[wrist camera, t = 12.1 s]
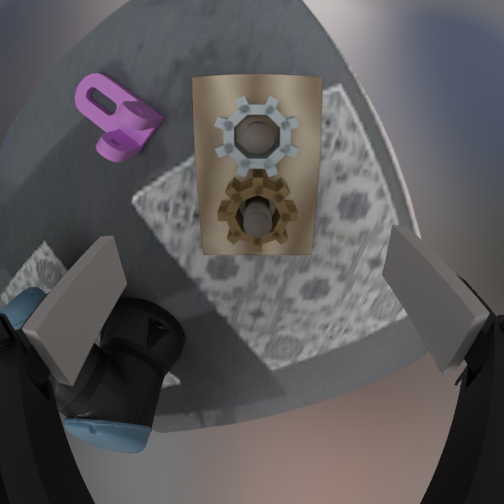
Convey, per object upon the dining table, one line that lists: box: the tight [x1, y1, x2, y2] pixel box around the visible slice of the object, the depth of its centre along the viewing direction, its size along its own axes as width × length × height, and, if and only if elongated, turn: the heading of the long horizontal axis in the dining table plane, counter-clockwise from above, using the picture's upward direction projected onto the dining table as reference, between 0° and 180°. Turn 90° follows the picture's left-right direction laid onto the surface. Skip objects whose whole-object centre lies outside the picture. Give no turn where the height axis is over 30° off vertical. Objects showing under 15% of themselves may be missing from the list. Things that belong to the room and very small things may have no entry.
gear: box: [214, 96, 300, 177], centre depth 26 cm, size 8×8×4 cm
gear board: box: [192, 74, 322, 255], centre depth 28 cm, size 14×22×9 cm, turn 0°
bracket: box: [75, 73, 164, 162], centre depth 25 cm, size 13×6×7 cm, turn 48°
